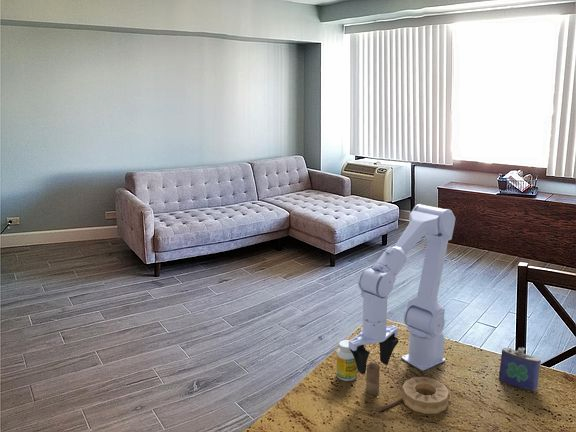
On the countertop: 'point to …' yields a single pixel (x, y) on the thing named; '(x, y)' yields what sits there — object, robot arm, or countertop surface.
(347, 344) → the supplement bottle
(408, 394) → the wooden ring with handle
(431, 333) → the robot arm
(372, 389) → the brown rounded cylinder
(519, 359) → the flask
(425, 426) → the countertop surface
